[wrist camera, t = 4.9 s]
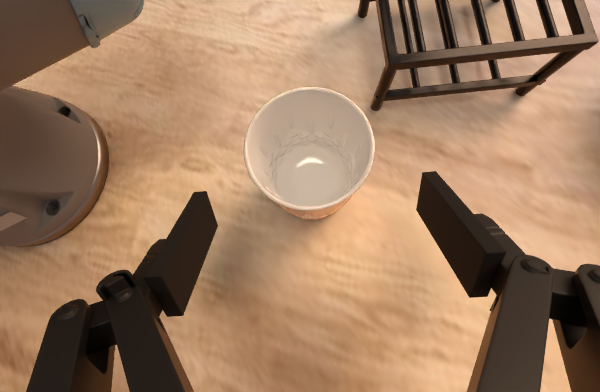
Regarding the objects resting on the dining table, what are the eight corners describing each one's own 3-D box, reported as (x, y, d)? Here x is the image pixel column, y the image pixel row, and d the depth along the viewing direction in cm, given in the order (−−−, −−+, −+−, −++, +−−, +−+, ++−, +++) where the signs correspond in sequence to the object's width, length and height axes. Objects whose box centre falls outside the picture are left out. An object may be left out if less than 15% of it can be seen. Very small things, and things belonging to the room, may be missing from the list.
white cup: (367, 167, 26) (396, 116, 16) (330, 241, 25) (338, 234, 15) (295, 133, 27) (282, 68, 18) (256, 202, 26) (220, 173, 17)
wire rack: (371, 111, 27) (388, 64, 21) (357, 10, 30) (368, -61, 23) (527, 95, 27) (599, 41, 20) (499, -7, 29) (554, -86, 22)
